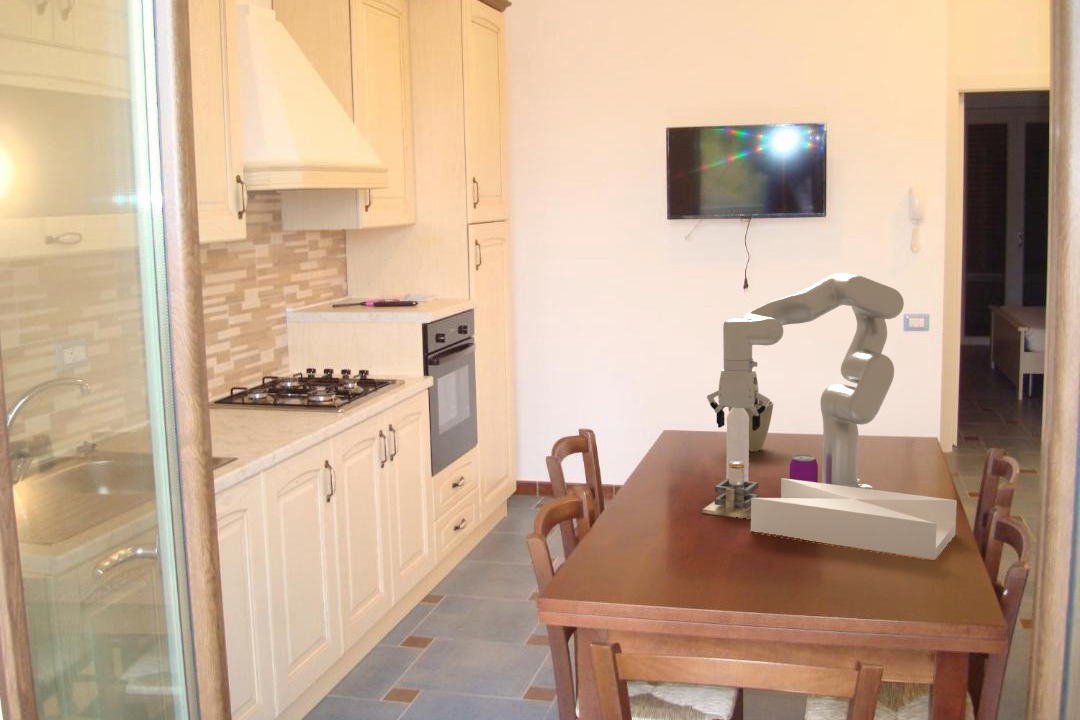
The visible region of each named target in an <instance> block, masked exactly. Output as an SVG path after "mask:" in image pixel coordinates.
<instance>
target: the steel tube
mask: <svg viewBox="0 0 1080 720" xmlns="http://www.w3.org/2000/svg"><path fill="white" fill-rule="evenodd" d="M744 467H745V463H744V462H741V461H731V462H729V486H728V487H731V488H739V489H744ZM734 501H741V502H744V496H743V495H735V494H734ZM734 508H737V507H734Z"/></svg>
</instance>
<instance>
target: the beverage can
mask: <svg viewBox="0 0 1080 720" xmlns="http://www.w3.org/2000/svg"><path fill="white" fill-rule="evenodd" d="M818 475H819V464H818V461H817V459H816V457H815V456H814V455H810V454H795V455H792V458H791V460H790V463H789V476H788V477H789V478H788V479H793V480H801V481H809V482H816V483H819V482H818V477H819V476H818Z"/></svg>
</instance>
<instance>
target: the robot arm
mask: <svg viewBox="0 0 1080 720" xmlns="http://www.w3.org/2000/svg"><path fill="white" fill-rule="evenodd" d="M904 304H905V303H904V298H903V295H902V294H901V293H900V291H898V290H897V289H895V288H893V287H892V286H891V287H890V286H888V285H885V284H883V283H881V282H877V281H875V280H873V279H870V278H867V277H866V276H862V275H858V274H852V273H851V274H849V273H839V272H838V273H834V274H831V275H829V276H827V277H825V278H823V279H822V280H820V281H818V282H816V283H814V284H812V285H811V286H809V287H807V288H805V289H803V290H801V291H798V292H797V293H794V294H791V295H788V296H785V297H782V298H779V299H775V300H773V301H769V302H767V303H765V304H762V305H761V306H758V307H756V308H755V309H752V310H751V311H749V312H747V313H746V314H744V315H743V316H742V317H740V318H730V319H726V320H725V321H724V322H723V325H722V327H723V330H722V331H723V334H722V335H723V336H722V337H723V339H722V340H723V344H722V345H723V368H722V369H721V370H720V376H719V383H718V390H717V391H715V392H712V393H710V394H708V395H707V396H706V398H707V401H708V403H709V405H710V407H711V408H712V409H713V410H714V413H716V424H717V427H718V428H719V429H720V428H722V427H724V426H725V425H726V423H725V421H726V420H725V419H726V418H725V411H724V409H725V408H728V407H734V408H750V410H751V411H752V412H753V413H754V416H752V430H754V431H755V430H757V429H758V428H759V427H760V414H761V413H762V412H763V411H764V410H765V409H766V408H767V406H768V404H769V402H770V401H771V399H770V398H768V397H767V396H765V395H763V394H761V393H760V392H759V383H758V382H759V381H758V377H757V372H756V369H753V368H757V367H758V361H754V358H753V346H773V345H776V344H777V343H778V342H779V341H780V340H781V339H782V337H783V336H784V327H783V326H786V325H795V324H796V325H797V324H805V323H809V322H813V321H814V320H816V319H818V318H820V317H822V316H824V315H826V314H827V313H829V312H831V311H833V310H834V309H836V308H839V307H841V306H849V307H851V308H852V311H853V313H854V316H855V320H856V329H855V330H856V331H855V334H854V336H853V338H852V341H851V343H850V345H849V348H848V349H847V352H846V354H845V356H844V359H843V361H842V362H841V365H840V374H841V375H842V377H843V379H845V380H846V381H849V382H851V383H854V384H856V387H855V386H851V385H848V384H842V383H834V384H831V385H829V386H827V387H826V388H825V389H824V390H823V392H822V394H821V396H820V411H821V416H822V427H823V432H822V434H823V438H822V439H823V440H822V482H821V483H824V484H832V485H840V486H848V487H856V488H864V489H872V490H874V487H873V486H871V485H870V484H862V483H861V478H858V471H859V469H858V465H859V463H858V462H859V428H858V425H867V424H870V423H872V421H873V420H874V419H875V417H876V416H877V415H878V413H879V411H880V409H881V407H882V405H883V403H884V401H885V399H886V396H887V394H888V393H889V390H890V388H891V386H892V383H893V380H894V376H895V367H894V363H893V361H892V359H890V357H889V356H887V355H885V354H883V350H884V348H885V345H886V342H887V339H888V327H887V322H886V320H892V319H894V318H895V319H896V317H898V316H900V314H901V313H902V311H903V309H904ZM716 397H717V399H718V402H716V400H715V398H716ZM759 400H761V401H762V402H763V404H762V406H761V407H760V408H759V407H758V403H759Z"/></svg>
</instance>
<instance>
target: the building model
mask: <svg viewBox="0 0 1080 720" xmlns="http://www.w3.org/2000/svg"><path fill="white" fill-rule="evenodd" d="M780 484H781V485H780V497H758V498H751V520H750V532H751V531H754V532H763V533H769V534H776V535H783V536H788V537H794V538H800V539H804V540H809V541H816V542H822V543H828V544H829V543H830V544H836V545H843V546H851V547H857V548H863V549H870V550H876V551H884V552H890V553H896V554H905V555H911V556H918V557H924V558H933V559H936V558H937V556H938V555H939V554H940V553H941V552H942V551H943V549H944V548H945V547H946V546H947V547H948V545H949V544H950V543H951V542H952V540H953V539H954V537H956V526H957V505H958V504H957V502H958V501H957V499H951V498H950V499H949V498H948V499H947V498H942V497H941V498H940V497H933V496H925V495H917V494H910V493H902V492H895V491H894V492H893V491H886V490H877V489H873V490H872V489H864V488H856V487H848V486H840V485H832V484H824V483H822V482H818V483H816V482H809V481H801V480H793V479H789V478H784V477H781V479H780ZM952 538H953V539H952ZM949 542H950V543H949ZM948 543H949V544H948ZM828 544H827V545H828ZM947 544H948V545H947ZM947 547H946V548H947ZM946 548H945V549H946ZM945 549H944V550H945ZM943 552H944V551H943ZM943 552H942V553H943ZM942 553H941V554H942ZM941 554H940V555H941ZM937 559H938V558H937Z"/></svg>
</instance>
